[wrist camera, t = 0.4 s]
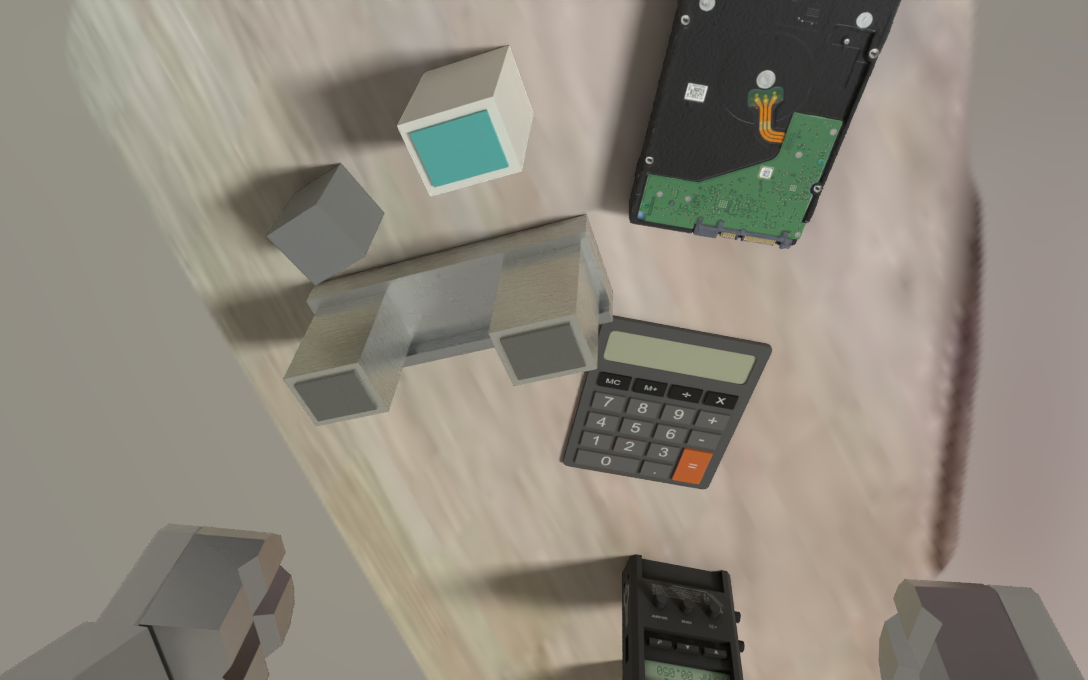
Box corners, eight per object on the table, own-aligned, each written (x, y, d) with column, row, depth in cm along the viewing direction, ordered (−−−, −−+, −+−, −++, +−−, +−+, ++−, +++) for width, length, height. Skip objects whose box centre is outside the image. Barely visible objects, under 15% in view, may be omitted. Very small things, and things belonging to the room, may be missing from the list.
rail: (315, 283, 53) (268, 374, 46) (586, 214, 49) (581, 303, 41) (355, 350, 57) (318, 444, 50) (612, 291, 52) (612, 386, 45)
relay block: (293, 193, 49) (266, 236, 45) (341, 162, 48) (316, 204, 44) (338, 240, 51) (314, 285, 47) (384, 212, 50) (364, 256, 46)
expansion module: (424, 72, 44) (395, 127, 38) (509, 44, 43) (492, 97, 37) (452, 137, 46) (429, 198, 41) (533, 113, 45) (521, 173, 39)
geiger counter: (745, 568, 70) (770, 743, 58) (727, 596, 72) (748, 769, 61) (629, 546, 69) (631, 719, 57) (615, 576, 72) (615, 746, 60)
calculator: (562, 467, 62) (604, 318, 53) (562, 458, 63) (604, 310, 54) (707, 492, 63) (774, 349, 54) (706, 482, 64) (772, 341, 54)
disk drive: (686, -60, 39) (626, 204, 49) (690, -46, 37) (627, 227, 46) (891, -26, 40) (793, 230, 49) (907, -10, 37) (801, 254, 47)
